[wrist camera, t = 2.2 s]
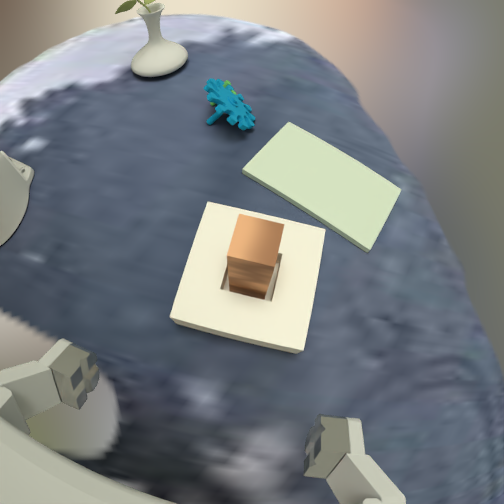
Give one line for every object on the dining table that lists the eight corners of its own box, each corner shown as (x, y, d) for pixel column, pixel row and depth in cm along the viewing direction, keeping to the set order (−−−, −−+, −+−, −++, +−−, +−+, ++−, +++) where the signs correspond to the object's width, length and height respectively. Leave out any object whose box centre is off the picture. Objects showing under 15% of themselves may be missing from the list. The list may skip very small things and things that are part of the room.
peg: (229, 291, 36) (226, 255, 26) (238, 259, 38) (239, 213, 28) (264, 300, 36) (274, 267, 26) (271, 267, 38) (284, 224, 28)
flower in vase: (176, 46, 57) (166, -55, 34) (197, 69, 53) (190, -48, 30) (119, 67, 54) (94, -35, 31) (133, 93, 50) (104, -26, 27)
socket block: (176, 323, 36) (169, 316, 32) (210, 217, 41) (207, 201, 37) (296, 353, 35) (303, 350, 31) (317, 243, 40) (325, 229, 37)
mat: (242, 173, 44) (242, 169, 43) (287, 126, 48) (288, 121, 47) (367, 253, 40) (370, 250, 39) (398, 193, 44) (401, 189, 43)
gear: (261, 136, 45) (210, 98, 38) (233, 158, 48) (181, 125, 41) (254, 97, 50) (210, 63, 44) (230, 117, 54) (186, 86, 47)
